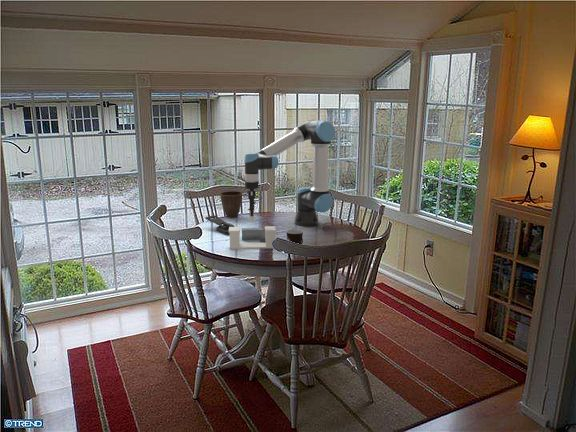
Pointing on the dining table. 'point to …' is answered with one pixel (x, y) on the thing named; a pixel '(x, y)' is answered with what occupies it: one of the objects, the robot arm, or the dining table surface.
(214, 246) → the dining table surface
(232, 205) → the plant pot
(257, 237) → the grey rectangular block
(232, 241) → the white u-shaped cradle
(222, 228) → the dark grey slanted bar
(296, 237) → the coffee mug
